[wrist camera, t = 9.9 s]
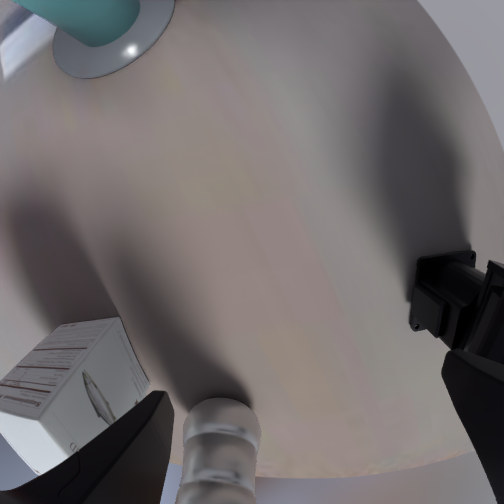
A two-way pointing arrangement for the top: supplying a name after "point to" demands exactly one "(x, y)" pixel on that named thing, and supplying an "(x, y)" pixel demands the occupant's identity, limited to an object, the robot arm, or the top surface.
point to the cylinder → (87, 17)
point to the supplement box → (69, 391)
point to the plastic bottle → (219, 453)
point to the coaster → (113, 44)
